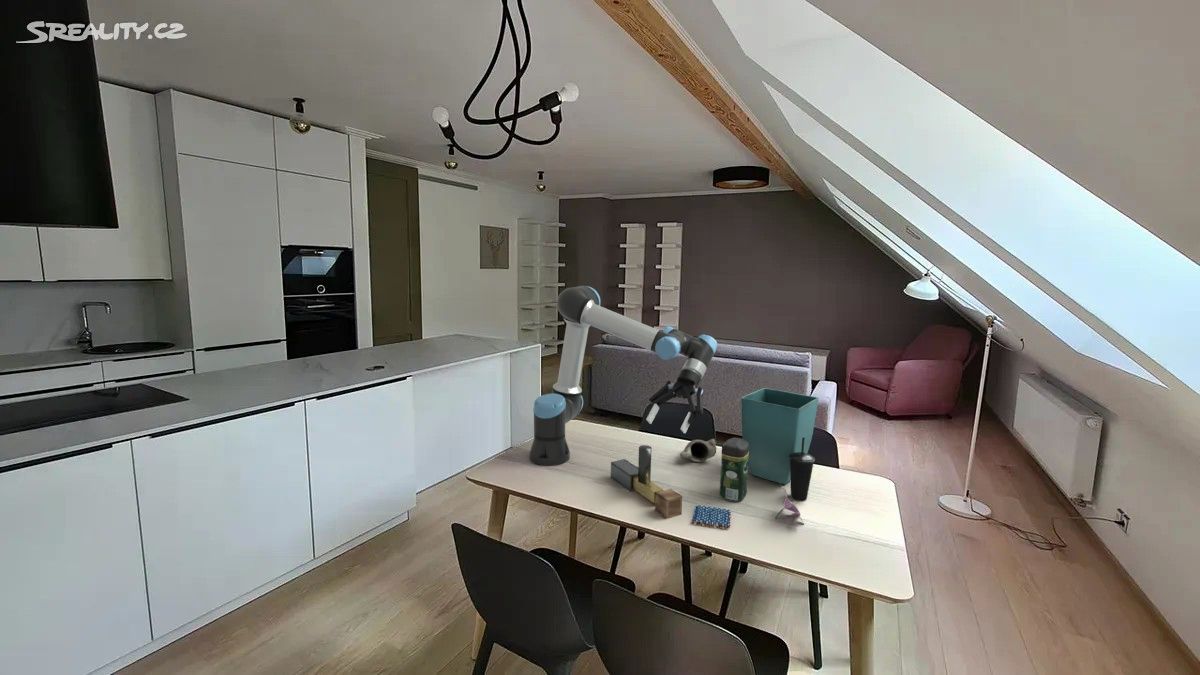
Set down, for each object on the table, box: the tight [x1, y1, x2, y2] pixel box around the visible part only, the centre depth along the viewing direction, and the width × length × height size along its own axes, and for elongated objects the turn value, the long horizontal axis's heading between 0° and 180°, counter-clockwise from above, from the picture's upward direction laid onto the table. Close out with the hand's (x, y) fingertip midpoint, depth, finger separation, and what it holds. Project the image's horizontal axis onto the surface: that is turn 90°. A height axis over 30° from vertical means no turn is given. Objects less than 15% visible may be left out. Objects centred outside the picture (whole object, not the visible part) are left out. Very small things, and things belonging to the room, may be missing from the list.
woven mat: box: [691, 504, 732, 531], centre depth 150 cm, size 10×11×2 cm
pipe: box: [679, 438, 717, 463], centre depth 194 cm, size 16×9×15 cm
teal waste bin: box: [740, 387, 819, 485], centre depth 179 cm, size 20×20×28 cm
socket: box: [654, 488, 683, 520], centre depth 153 cm, size 6×6×6 cm
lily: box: [775, 482, 804, 523], centre depth 150 cm, size 12×12×10 cm
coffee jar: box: [719, 437, 749, 502], centre depth 163 cm, size 10×8×19 cm
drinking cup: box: [789, 437, 816, 502], centre depth 163 cm, size 8×8×20 cm
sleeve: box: [610, 458, 638, 493], centre depth 172 cm, size 12×6×6 cm, turn 30°
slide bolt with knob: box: [631, 444, 665, 504], centre depth 166 cm, size 23×4×15 cm, turn 30°
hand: (665, 426), depth 169 cm, fingers open, 13 cm apart
